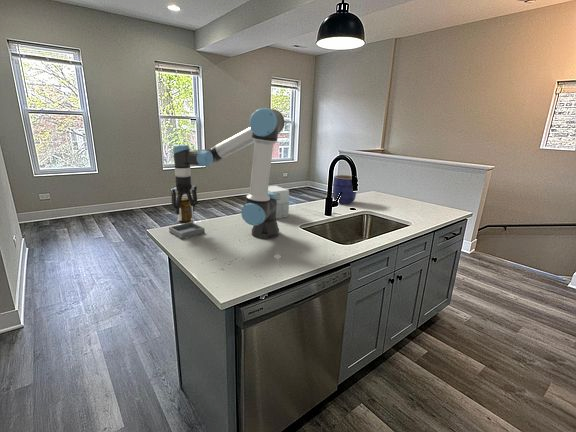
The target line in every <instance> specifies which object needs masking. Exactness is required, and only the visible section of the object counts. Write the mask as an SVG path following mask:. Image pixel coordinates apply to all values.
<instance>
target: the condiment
mask: <svg viewBox="0 0 576 432" xmlns="http://www.w3.org/2000/svg"><path fill="white" fill-rule="evenodd" d="M180 208H181V216H182V221H180V220H178V218H177V222H178V225H181V224H186V223H194V221H193V218H191V208H190V202H189V199H188V197H187V198H186V197H182V199H181V203H180Z"/></svg>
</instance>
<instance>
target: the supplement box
mask: <svg viewBox="0 0 576 432" xmlns="http://www.w3.org/2000/svg"><path fill="white" fill-rule="evenodd" d="M268 193H274V194H276V195H277V213H276V220H277V219H283V217H284V218H289V209H290V189H287V188H284V187H280V186H278V185H268Z"/></svg>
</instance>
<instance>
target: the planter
mask: <svg viewBox="0 0 576 432" xmlns="http://www.w3.org/2000/svg"><path fill="white" fill-rule="evenodd" d="M352 176H353V175H346V174H337V175H334V176H333V183H332V184H333V185H332V195H333V194H334V198H333V200H334V201H335V200H336V199H337V197H338V195H339V193H341V192H342V194H341V197H340V199H339V203H340V205H345V204H347V205H351V204H353V203H354V201H355V199H356V196H357V192H353V191H352ZM358 179H359V177H357V180H358ZM358 181H359V180H358Z"/></svg>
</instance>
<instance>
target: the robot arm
mask: <svg viewBox="0 0 576 432" xmlns="http://www.w3.org/2000/svg"><path fill="white" fill-rule="evenodd" d="M285 122H286V121H285V117H284V115H283V114H282V112H281V111H279V110H277V109H274V108H273V109H272V108H268V107H262V108H258V109H256V110H255V111H254V112H253V113H252V114H251V115H250V118H249V127H247V128H245V129H244V130H242V131H239V132H238V133H236V134H234V135H233V136H231V137H229V138H227V139H225V140H222V142H219V143H217V144H216V145H214V146H212V147H210V148H205V149H190V146H189V145H188V144H175V145H173V147H172V148H173V154H172V155H173V163H174V175H175V187H174V188H170V189H169V190H170V193H171V208H173V209H175V214H176V215H177V219H178V220H180V221H182V216H181V208H180V203H181V199H182V198H183V196H184V194H185V195H186V196H187V198H188V199H189V203H190V208H191V219H194V218H195V217H194V212H195V207H196V205H198V195H197V186H196V185H192V176H191V175H192V173H191V171H192V170H191V166H201V167H209V166H211V165H212V164H213V163H218V162H220V161H222V160H223V159H225V158H226V157H229V156H230V155H231V154H234V153H237V152H238V151H240V150H242V149H244V148H246V147H248V146H251V145H252V144H254V146H253V154H252V165H251V175H250V185H249V192H248V193H247V194H246V196H245V204H244V205H243V206H242V207H241V211H240V214H241V218H242V220H244V222H245V223H246V224H248V225H250V226H252V228H251V235H252V236H253V237H255V238H257V239H272V238H273V239H274V238H277V237H278V236H279V235H280V228H279V225H278V222H277V219H276V213H277V195H276V194H274V193H268V186H270V185H269V184H270V176H271V175H270V174H271V168H272V161H273V151H274V145H275V144H276V143H277V142H278V138H279V137H278V136H279V134H280V133H281V132H282V131H283V129H284V128H285V124H286V123H285ZM178 220H177V221H178Z"/></svg>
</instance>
